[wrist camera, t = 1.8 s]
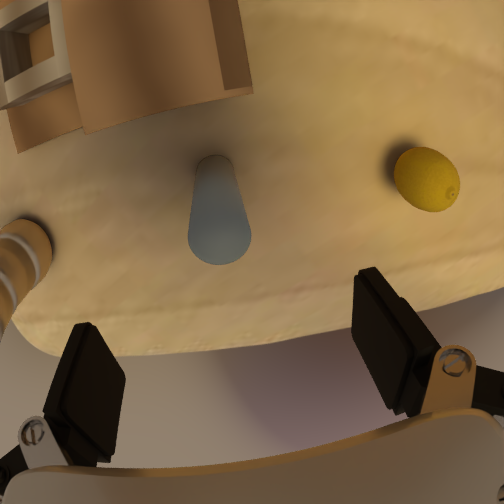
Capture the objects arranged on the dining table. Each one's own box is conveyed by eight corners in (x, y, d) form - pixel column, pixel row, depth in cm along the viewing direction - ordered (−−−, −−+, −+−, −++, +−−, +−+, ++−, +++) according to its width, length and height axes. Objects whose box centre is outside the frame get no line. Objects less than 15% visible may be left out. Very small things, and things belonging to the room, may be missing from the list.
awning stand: (207, -76, 14) (208, -137, 6) (237, 91, 23) (253, 93, 14) (0, 2, 14) (-65, -10, 5) (25, 154, 22) (-40, 192, 14)
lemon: (428, 143, 27) (481, 167, 20) (418, 194, 30) (465, 227, 23) (384, 135, 26) (436, 156, 19) (375, 190, 29) (419, 225, 22)
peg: (192, 159, 25) (180, 215, 15) (230, 151, 26) (245, 202, 15) (200, 194, 27) (196, 269, 17) (236, 187, 27) (255, 258, 17)
